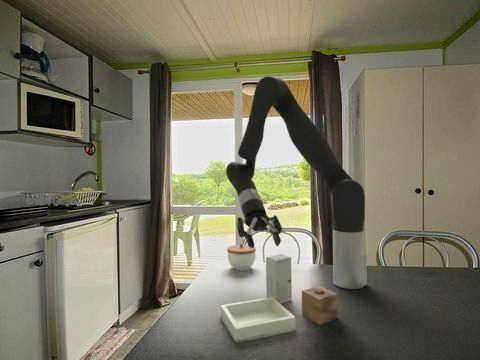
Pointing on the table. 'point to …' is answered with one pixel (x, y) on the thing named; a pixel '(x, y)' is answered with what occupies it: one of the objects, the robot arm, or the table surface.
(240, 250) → the lidded jar
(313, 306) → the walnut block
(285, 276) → the skincare box
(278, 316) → the tray
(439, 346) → the table surface
